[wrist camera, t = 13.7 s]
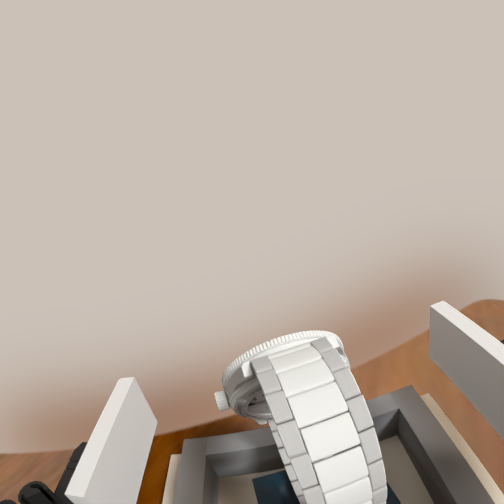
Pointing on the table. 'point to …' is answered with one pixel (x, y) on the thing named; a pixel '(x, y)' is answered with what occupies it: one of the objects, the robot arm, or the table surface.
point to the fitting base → (384, 422)
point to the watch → (309, 421)
